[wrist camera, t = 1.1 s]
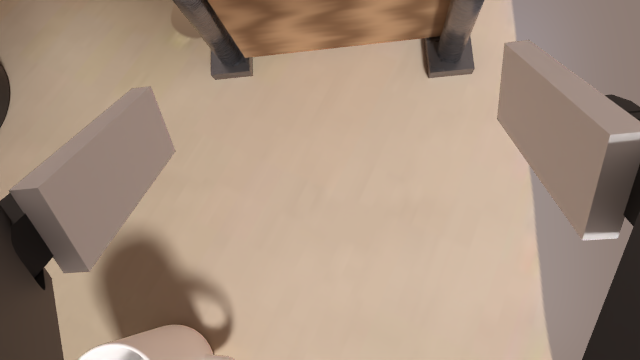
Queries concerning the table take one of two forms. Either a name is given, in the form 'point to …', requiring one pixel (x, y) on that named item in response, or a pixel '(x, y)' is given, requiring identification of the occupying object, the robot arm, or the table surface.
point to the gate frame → (441, 52)
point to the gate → (326, 23)
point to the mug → (157, 346)
